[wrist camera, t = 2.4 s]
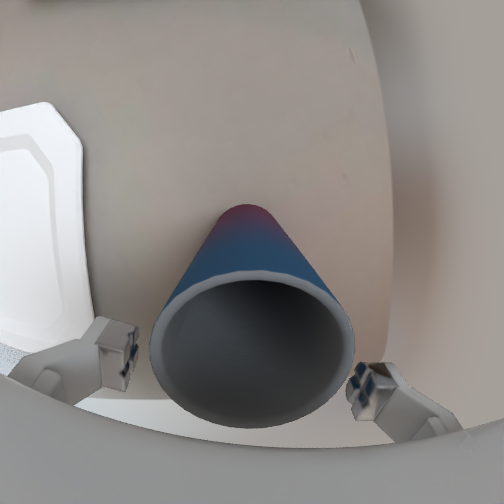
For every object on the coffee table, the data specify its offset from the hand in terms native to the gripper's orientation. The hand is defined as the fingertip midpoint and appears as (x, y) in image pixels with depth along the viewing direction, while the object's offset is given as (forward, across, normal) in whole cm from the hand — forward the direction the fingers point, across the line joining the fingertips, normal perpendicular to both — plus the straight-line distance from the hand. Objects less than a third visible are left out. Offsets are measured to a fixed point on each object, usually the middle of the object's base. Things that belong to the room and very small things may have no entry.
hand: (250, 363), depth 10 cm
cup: (+14, 0, -1) cm, 14 cm away
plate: (+15, +25, +5) cm, 29 cm away
